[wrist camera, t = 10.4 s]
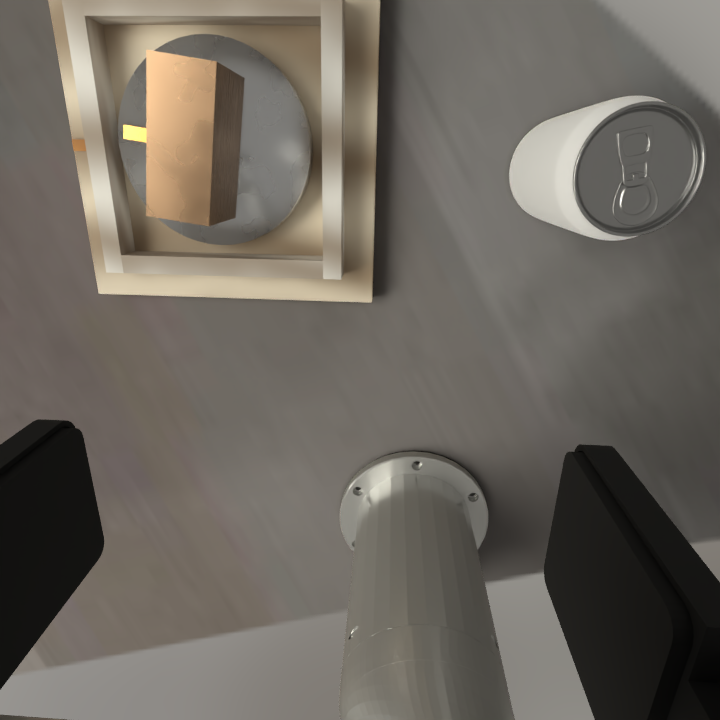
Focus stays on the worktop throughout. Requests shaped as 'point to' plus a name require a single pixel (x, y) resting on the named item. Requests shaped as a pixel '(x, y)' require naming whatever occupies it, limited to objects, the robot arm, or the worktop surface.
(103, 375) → the worktop surface
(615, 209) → the can
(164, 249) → the dial board
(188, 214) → the dial
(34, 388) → the worktop surface
